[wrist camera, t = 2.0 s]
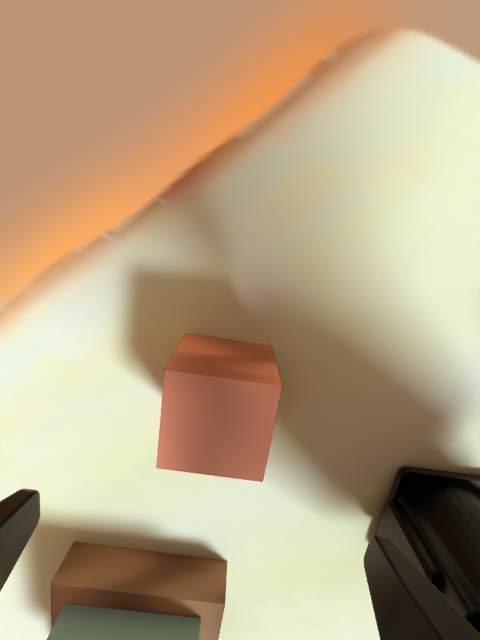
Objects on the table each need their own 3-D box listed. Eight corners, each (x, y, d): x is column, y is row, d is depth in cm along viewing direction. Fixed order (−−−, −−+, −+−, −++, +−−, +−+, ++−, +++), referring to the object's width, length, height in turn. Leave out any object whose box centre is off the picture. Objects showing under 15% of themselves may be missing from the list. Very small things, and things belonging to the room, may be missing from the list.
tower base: (227, 552, 20) (224, 604, 17) (209, 651, 23) (204, 710, 20) (78, 533, 20) (50, 583, 17) (77, 635, 23) (53, 694, 20)
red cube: (271, 345, 16) (282, 386, 11) (258, 419, 17) (262, 481, 13) (186, 333, 16) (164, 369, 11) (178, 408, 17) (156, 468, 13)
